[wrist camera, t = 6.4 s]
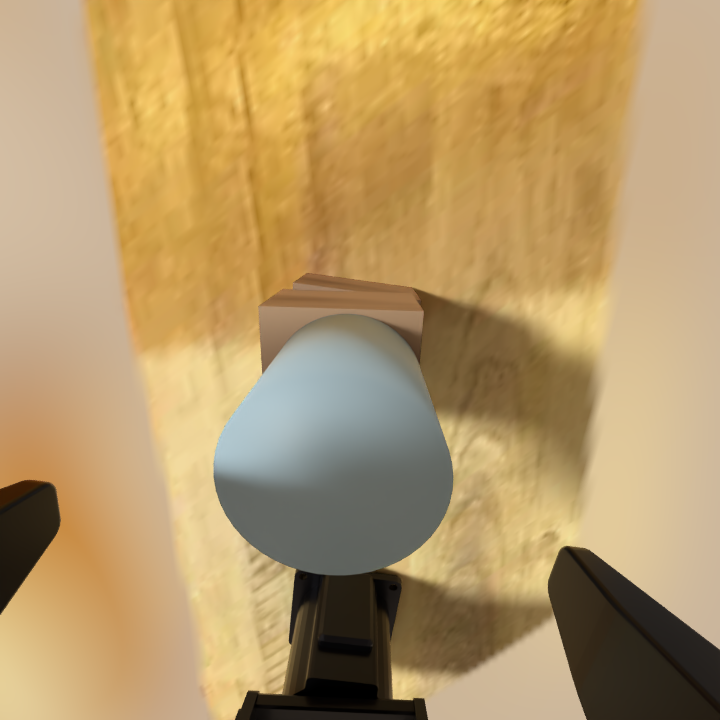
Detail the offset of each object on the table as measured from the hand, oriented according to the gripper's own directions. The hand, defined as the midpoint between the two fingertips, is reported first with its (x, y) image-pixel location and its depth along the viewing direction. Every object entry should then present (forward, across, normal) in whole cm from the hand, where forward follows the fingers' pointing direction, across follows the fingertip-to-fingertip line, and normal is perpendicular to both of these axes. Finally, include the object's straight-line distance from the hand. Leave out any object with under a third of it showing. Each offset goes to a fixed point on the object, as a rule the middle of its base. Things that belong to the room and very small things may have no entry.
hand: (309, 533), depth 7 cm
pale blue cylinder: (+6, 0, 0) cm, 6 cm away
